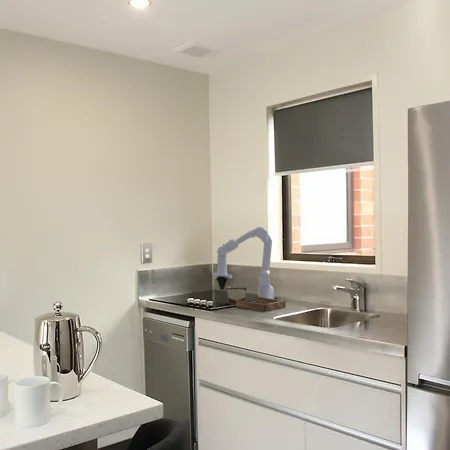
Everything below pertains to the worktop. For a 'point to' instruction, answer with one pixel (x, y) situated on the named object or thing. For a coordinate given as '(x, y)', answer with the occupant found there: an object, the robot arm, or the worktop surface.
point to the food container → (236, 293)
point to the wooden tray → (262, 304)
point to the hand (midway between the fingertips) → (222, 289)
